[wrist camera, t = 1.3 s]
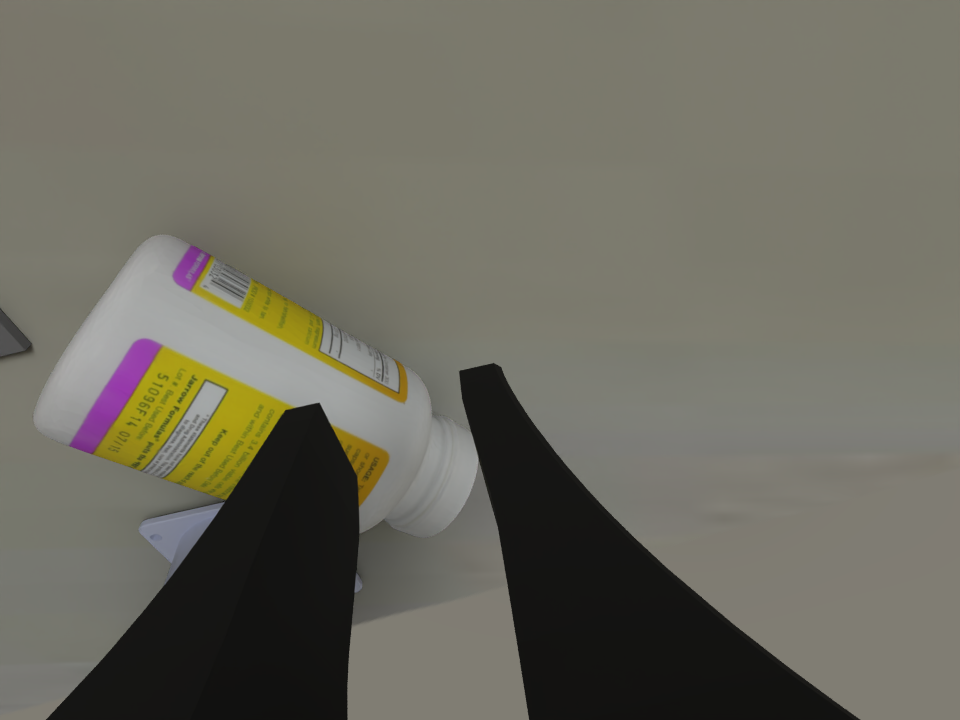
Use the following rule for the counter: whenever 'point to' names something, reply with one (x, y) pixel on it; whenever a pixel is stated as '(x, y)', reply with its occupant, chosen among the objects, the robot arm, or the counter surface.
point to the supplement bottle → (245, 390)
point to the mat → (11, 337)
